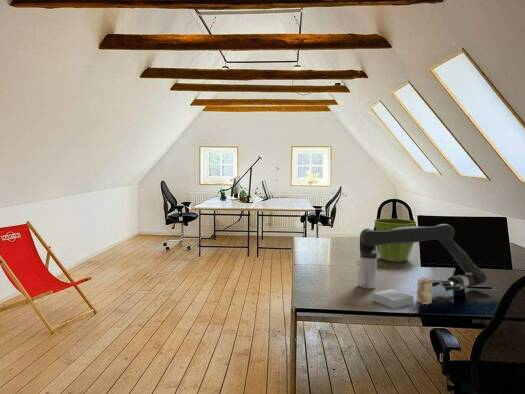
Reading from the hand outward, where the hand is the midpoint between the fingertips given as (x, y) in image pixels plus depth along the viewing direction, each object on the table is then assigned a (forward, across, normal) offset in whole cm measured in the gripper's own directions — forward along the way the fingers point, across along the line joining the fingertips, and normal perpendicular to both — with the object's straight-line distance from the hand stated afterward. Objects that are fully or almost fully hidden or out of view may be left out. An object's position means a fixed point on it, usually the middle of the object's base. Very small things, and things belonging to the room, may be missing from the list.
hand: (438, 286), depth 229 cm
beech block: (+11, 0, +7) cm, 13 cm away
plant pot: (-53, -78, +7) cm, 94 cm away
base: (+25, -8, +7) cm, 27 cm away
